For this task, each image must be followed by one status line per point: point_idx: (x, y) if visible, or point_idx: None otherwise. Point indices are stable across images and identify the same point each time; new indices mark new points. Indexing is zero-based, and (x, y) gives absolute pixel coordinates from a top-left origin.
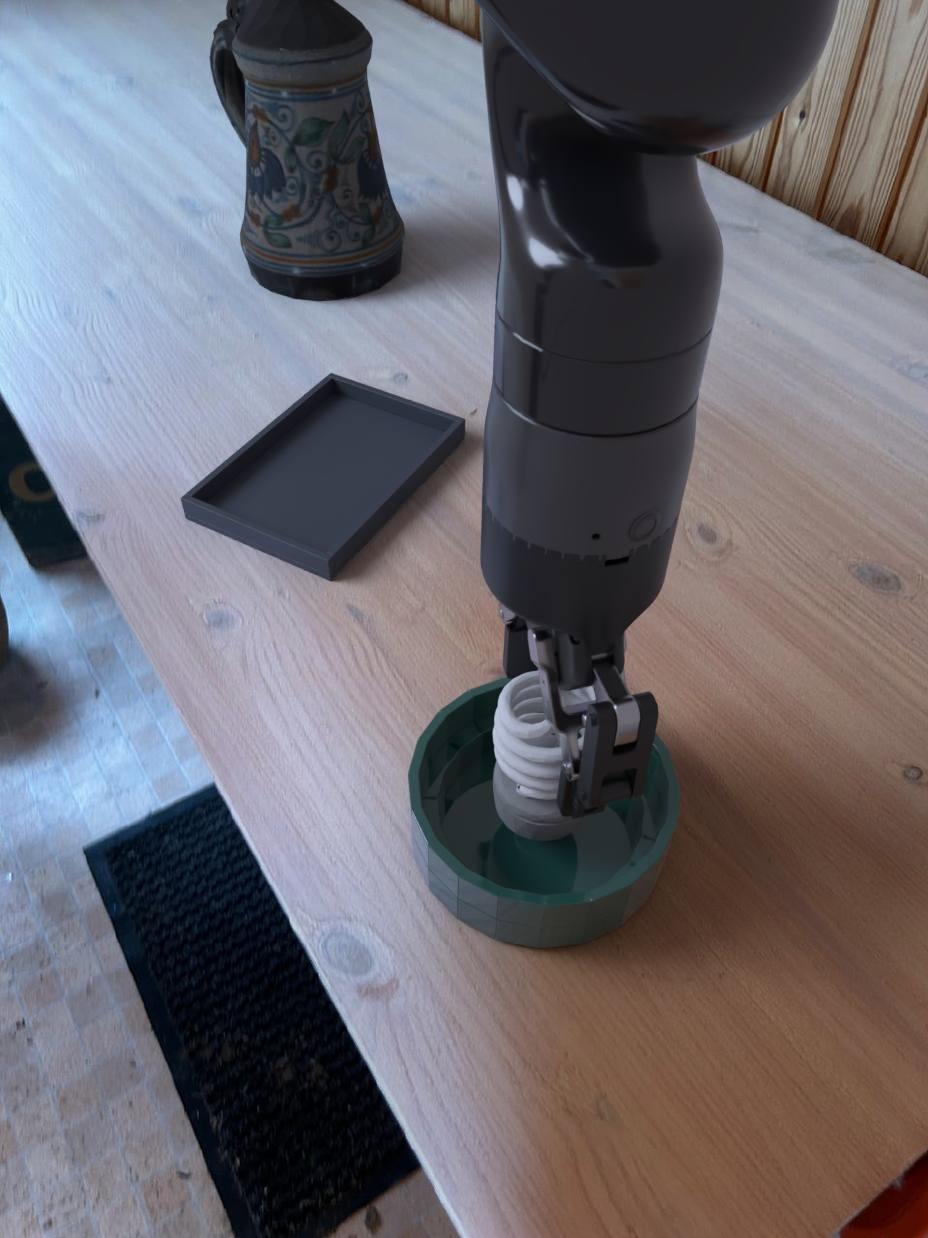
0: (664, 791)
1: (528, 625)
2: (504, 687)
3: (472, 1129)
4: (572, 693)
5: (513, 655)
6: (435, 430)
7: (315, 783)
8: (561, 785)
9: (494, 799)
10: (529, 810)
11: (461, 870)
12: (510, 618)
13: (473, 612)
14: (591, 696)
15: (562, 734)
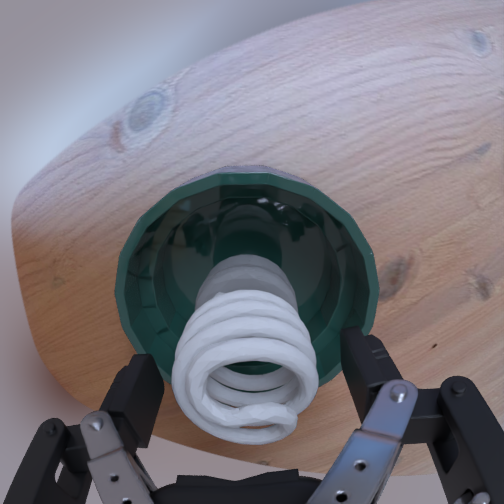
0: (236, 389)
1: (297, 493)
2: (291, 351)
3: (42, 204)
4: (292, 395)
5: (352, 360)
6: None
7: (316, 82)
8: (127, 384)
9: (278, 244)
10: (201, 299)
11: (143, 222)
12: (329, 471)
13: (465, 249)
14: (253, 435)
15: (107, 452)
